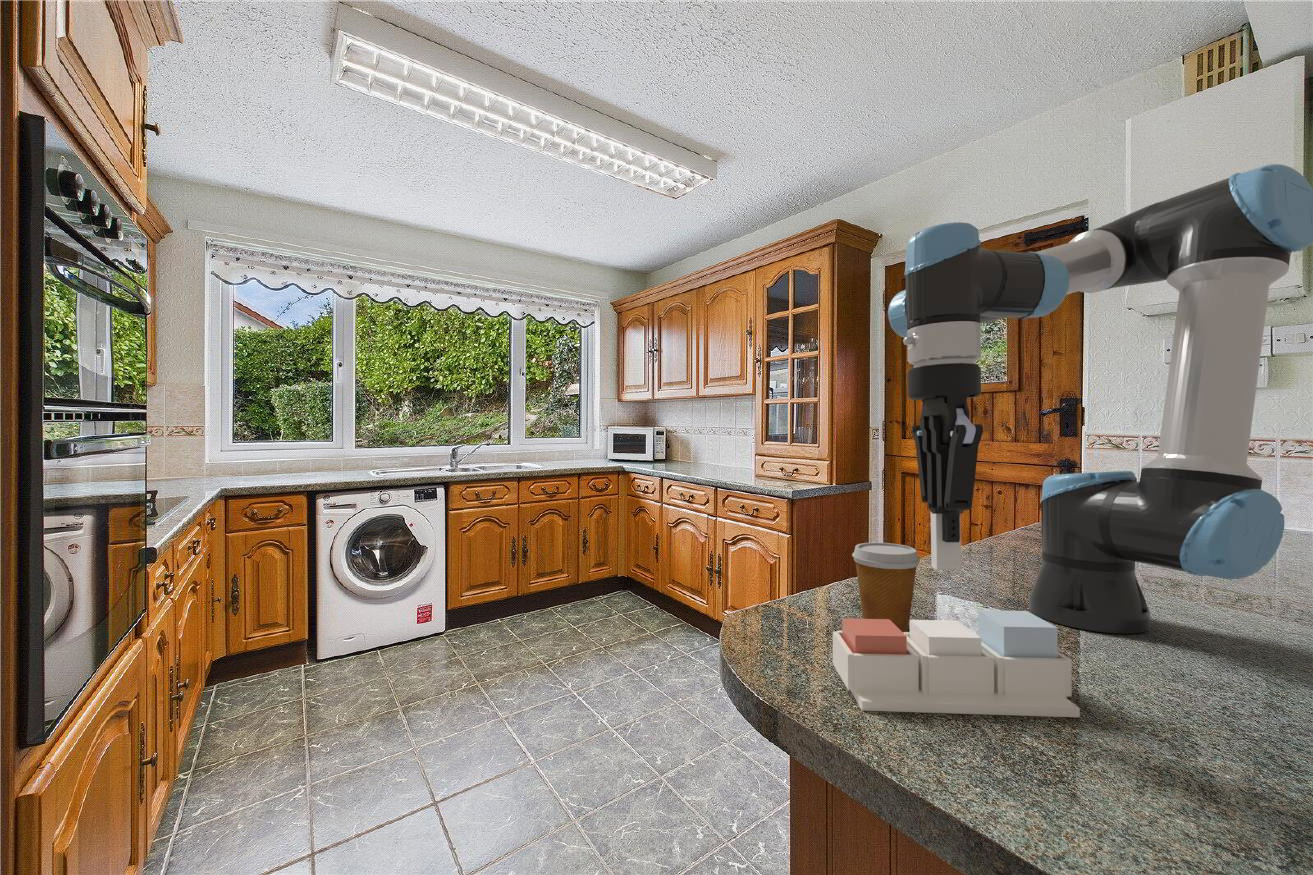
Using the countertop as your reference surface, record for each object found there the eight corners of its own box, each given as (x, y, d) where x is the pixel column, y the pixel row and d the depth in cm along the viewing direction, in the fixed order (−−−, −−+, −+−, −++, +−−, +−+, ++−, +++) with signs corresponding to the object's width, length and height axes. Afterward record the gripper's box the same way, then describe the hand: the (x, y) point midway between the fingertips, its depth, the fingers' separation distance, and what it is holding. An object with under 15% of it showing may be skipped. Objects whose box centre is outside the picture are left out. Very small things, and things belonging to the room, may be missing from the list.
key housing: (1020, 668, 69) (1020, 628, 69) (1087, 717, 57) (1087, 669, 57) (828, 663, 71) (827, 624, 71) (854, 710, 59) (854, 663, 59)
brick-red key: (889, 652, 67) (889, 619, 67) (906, 672, 61) (906, 636, 61) (842, 650, 67) (842, 618, 67) (855, 670, 62) (855, 635, 62)
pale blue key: (1026, 644, 66) (1026, 611, 66) (1057, 664, 60) (1057, 627, 60) (978, 643, 66) (978, 610, 66) (1003, 662, 60) (1004, 626, 60)
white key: (957, 653, 66) (957, 620, 66) (981, 674, 61) (981, 638, 61) (909, 652, 67) (909, 619, 67) (929, 672, 61) (928, 636, 61)
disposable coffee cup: (928, 640, 78) (927, 556, 78) (857, 636, 80) (857, 553, 80) (911, 618, 87) (910, 543, 87) (848, 614, 89) (848, 541, 89)
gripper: (889, 371, 70) (893, 555, 70) (933, 358, 57) (936, 584, 57) (950, 369, 70) (953, 555, 70) (1008, 356, 57) (1011, 584, 57)
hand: (946, 568), depth 64 cm, fingers closed
